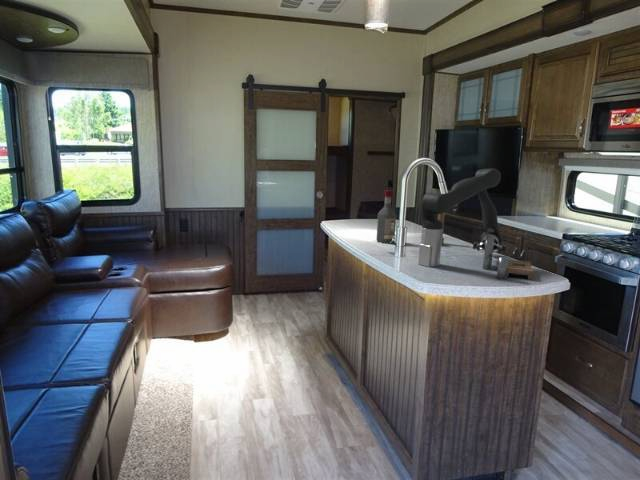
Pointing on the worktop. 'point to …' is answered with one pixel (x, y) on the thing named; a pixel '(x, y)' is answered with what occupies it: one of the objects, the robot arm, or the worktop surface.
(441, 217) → the wooden block
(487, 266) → the long pin
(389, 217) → the liquor
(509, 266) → the plate
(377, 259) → the worktop surface
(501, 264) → the short pin
